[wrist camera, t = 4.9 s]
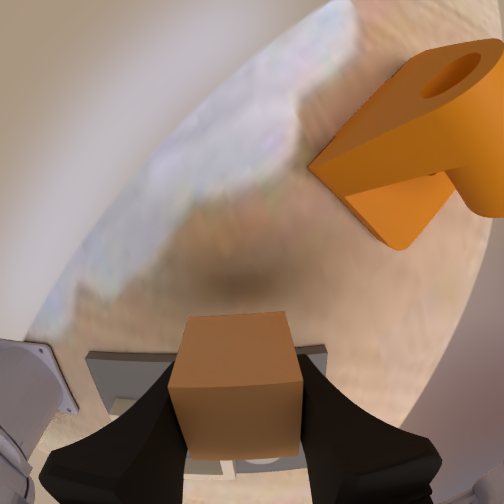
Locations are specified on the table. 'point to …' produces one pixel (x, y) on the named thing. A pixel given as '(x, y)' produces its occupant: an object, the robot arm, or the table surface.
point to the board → (145, 375)
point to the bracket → (423, 143)
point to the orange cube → (238, 388)
